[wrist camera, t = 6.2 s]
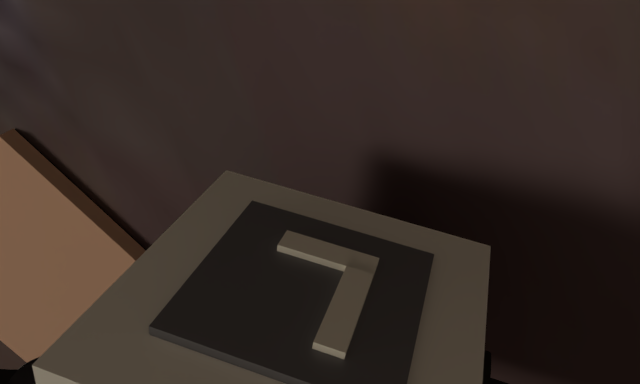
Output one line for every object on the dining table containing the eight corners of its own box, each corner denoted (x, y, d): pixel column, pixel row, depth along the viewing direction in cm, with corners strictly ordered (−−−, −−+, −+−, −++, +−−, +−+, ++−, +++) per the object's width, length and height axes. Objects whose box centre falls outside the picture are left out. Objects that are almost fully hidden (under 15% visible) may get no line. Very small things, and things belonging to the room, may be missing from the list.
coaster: (108, 412, 25) (99, 423, 24) (-69, 263, 23) (-82, 272, 23) (233, 330, 19) (225, 343, 19) (13, 128, 18) (-1, 136, 17)
